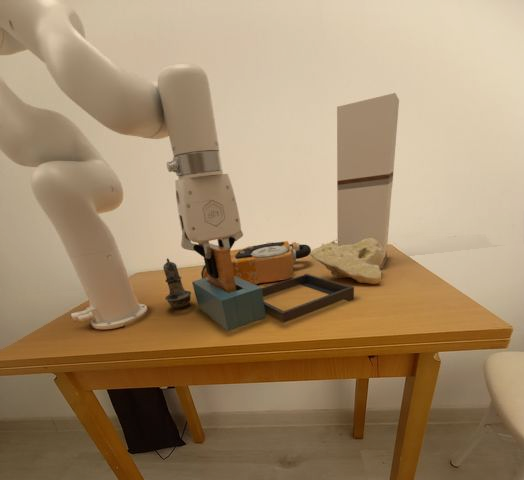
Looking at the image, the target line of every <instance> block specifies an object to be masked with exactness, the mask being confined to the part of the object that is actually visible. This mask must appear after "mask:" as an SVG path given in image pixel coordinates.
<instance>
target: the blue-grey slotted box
mask: <svg viewBox="0 0 524 480" xmlns="http://www.w3.org/2000/svg"><path fill="white" fill-rule="evenodd" d="M234 279H235V285H236V291H234V292H231V293H227V292H225V291H224V290H222V289H220V288H218V287H216V286H215V285H213V284H211V283H209V280H208V277H207V278H203V279H202V278H201V279H197V280H193V281H191V283H192V287H193V291H194V296H195V300H196V302H197V306H198V308H199V309H200V310H201V311H202V312H203V313H205V314H206V315H207V316H208V317H210V319H212V320H213V321H214V322H216V323H217V324H218V325H220V326H221V327H222V328H223V329H224V330H226V331H227V332H230V331H233V330H235V329H238V328H241V327H244V326H246V325H249V324H252V323H255V322H258V321H260V320H262V319H266V318H267V316H266V313H265V308H264V302H265V301H264V297H263V294H262V288H263V287H261V286H258V284H255V285H254V284H252V283H250V282H247V281H245V280H243V279H240V278H238V277H236V276H234Z"/></svg>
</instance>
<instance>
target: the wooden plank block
mask: <svg viewBox="0 0 524 480" xmlns="http://www.w3.org/2000/svg"><path fill="white" fill-rule="evenodd" d="M209 245H210V249H211V254H212V257H214V258H215V262H216V267H217V272H218V278H217V279H214V278H212V277H211V276H210V275H209V274H208V273H207V275H208V280H209V283H211V284H213V285H215V286H216V287H218V288H220V289H222V290H224V291H225V292H227V293H231V292H234V291H236V285H235V279H234V273H233V267H232V261H231V255H230V251H231V249H227V248H224V247H221V246H218V244H213V243H210V242H209Z"/></svg>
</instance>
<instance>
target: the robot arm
mask: <svg viewBox="0 0 524 480" xmlns="http://www.w3.org/2000/svg"><path fill="white" fill-rule="evenodd" d="M24 51H30V52H31V53H32V55H34V56H35V57H36V58H38V59H39V60H40V61H41V62H43V63H44V65H45V66H46V69H47V70H48V72H49V74H50V76H51V78H52V79H53V81H54V83H55V84H56V85H57V87H58V88H59V89H60V90H61V91H62V92H63V94H65V95H66V97H68V98H69V99H70V100H71V101H72V102H73V103H74V104H76V105H77V106H78V107H80V109H82V110H83V111H84V112H85V113H87V114H88V115H89V116H91V117H92V118H93V119H94V120H96V121H97V122H98V123H100V124H101V125H102V126H103V127H106V128H107V129H109V130H110V131H112V132H115V133H116V134H120V135H124V136H131V137H138V138H143V139H150V140H160V139H165V138H168V137H169V141H170V147H171V151H172V155H173V157H172V160H171V161H166V169H167V171H168V172H169V173H171V172H173V173H174V174H175V175H176V176H177V178H178V179H175V181H174V182H175V183H174V184H175V196H176V197H175V199H176V205H177V213H178V219H179V224H180V230H181V243H180V247H181V248H182V249H184V250H187V251H192V252H196V253H197V254H199V255H201V257H202V258H203V260H204V265H205V266H206V271H207V273H208V274H209V275H210V276H211V277H212V278H214V279H217V278H218V272H217V267H216V262H215V258H214V257H212V254H211V249H210V245H209V243H210V242H211V241H216V240H217V246H221V247H224V248H227V249H230V250H232V248H233V246H234V245H235V242H237V241H238V240H240V239H241V238H243V236H244V233H243V231H242V224H241V218H240V214H239V207H238V204H237V200H236V199H237V198H236V195H235V191H234V188H233V185H232V181H231V179H230V176H229V173H224V171H223V164H222V158H221V151H220V145H219V139H218V132H217V127H216V120H215V114H214V107H213V101H212V93H211V88H210V84H209V78H208V75H207V73H206V71H205V70H204V68H202V67H201V66H199V65H196V64H195V63H194V64H193V63H184V62H183V63H174V64H170V65H168V66H165V67H164V68H162V69H161V70H160V71H159V73H158V75H157V80H153V79H149V78H145V77H144V76H141V75H140V74H137V73H134V72H132V71H129V70H127V69H124V68H122V67H120V66H119V65H118V64H116V62H115V63H114V61H112V60H111V59H110V58H109V57H107V56H106V55H105V54H104V53H103V52H101V51H100V50H99V49H98V48H97V47H96V46H95V45H93V44H92V43H91V42H90V41H89V40H87V38H86V32H85V28H84V25H83V22H82V19H81V18H80V16H79V15H78V13H77V12H76V10H75V9H74V8H73V7H72V6H71V5H70V4H68V2H66V1H65V0H0V56H11V55H15V54H18V53H21V52H24ZM0 151H1V152H2V153H3V154H4V155H5V156H6V157H7V158H8V159H9V160H11V161H12V162H13V163H15V164H17V165H20V166H21V167H28V168H34V170H33V171H32V173H31V176H30V186H31V190H32V194H33V195H34V198H35V199H36V201H37V204H38V205H39V207H40V208H41V209H42V211H43V212H44V213H45V215H46V216H47V218H48V219H49V221H50V222H51V224H52V226H53V227H54V229H55V231H56V233H57V235H58V236H59V238H60V240H61V242H62V245H63V247H64V249H65V251H66V254H67V256H68V257H69V259H70V261H71V264H72V266H73V269H74V271H75V272H76V274H77V278H78V279H79V282H80V284H81V287H82V288H83V290H84V293H85V295H86V297H87V299H88V302H89V307H86V308H85V310H80V311H75V312H72V313H70V315H71V317H72V320H73V321H74V322H75V323H76V322H79V323H83V322H86V321H90V324H91V326H92V328H93V329H95V330H113V329H118V328H121V327H125V326H126V325H125V324H127V323H130V322H133V321H135V320H137V319H139V318H141V317H142V316H144V315H145V314H146V313H147V312H148V306H147V305H146V304H143V303H139V300H138V299H137V295H136V293H135V290H134V287H133V285H132V282H131V280H130V277H129V273H128V271H127V268H126V265H125V263H124V259H123V258H122V255H121V251H120V249H119V247H118V244H117V241H116V238H115V236H114V234H113V233H112V231H111V229H110V227H109V226H108V225H107V223H106V222H105V221H104V220H103V219H102V217H101V216H100V214H105V213H109V212H113V211H114V210H116V209H118V208H119V207H120V206H121V204H122V203H123V200H124V189H123V185H122V183H121V180H120V178H119V177H118V174H117V172H116V171H115V170H114V169H113V168H112V166H111V165H110V164H109V163H108V161H107V160H106V159H105V158H104V156H103V155H102V154H101V152H100V151H99V150H98V149H97V148H96V147H95V146H94V144H93V143H92V142H91V141H90V140H89V138H88V137H87V136H86V135H85V133H84V132H83V131H82V130H81V129H80V128H79V126H77V124H75V122H73V121H72V120H71V119H70V118H68V117H67V116H66V115H64V114H62V113H59V112H57V111H55V110H50V109H47V108H42V107H37V106H33V105H31V104H28V103H26V102H24V101H23V99H22V98H20V97H19V96H18V95H17V94H16V93H15V91H13V89H11V88H10V86H8V84H7V83H6V82H5V80H4V79H3V78H2V76H0Z"/></svg>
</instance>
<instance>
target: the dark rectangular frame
mask: <svg viewBox="0 0 524 480" xmlns="http://www.w3.org/2000/svg"><path fill="white" fill-rule="evenodd" d="M297 286H303V287H306V288H309V289H312V290H314V291H318V292H320V293H323V294H326V295H324V296H321V297H319V298H316V299H313V300H310V301H307V302H305V303H302V304H299V305H297V306H295V307H291V308H288V309H285V310H283V309H281V308H278V307H276V306H275V305H272V304H271V303H268V302H266V301H264V308H265V314H267V315H269V316H270V317H272V318H274V319H275V320H277V321H279V322H281V323H286V322H289V321H292V320H294V319H297V318H299V317H303V316H306V315H308V314H311V313H313V312H315V311H318V310H320V309H323V308H325V307H328V306H330V305H331V306H332V305H334V304H336V303H338V302H342V301H343V300H344V301H347V302H350V301H352V300H354V299H355V287H354V286H351V285H348V284H344V283H341V282H337V281H334V280H331V279H327V278H324V277H319V276H316V275H313V274H310V273H304V274H302V275H298V276H295V277H291V278H289V279H286V280H281V281H278V282H277V283H273V284H270V285H267V286H264V287H261V288H262V294H263V298H264V297H267V296H271V295H274V294H277V293H280V292H282V291H285V290H289V289H291V288H295V287H297Z"/></svg>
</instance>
